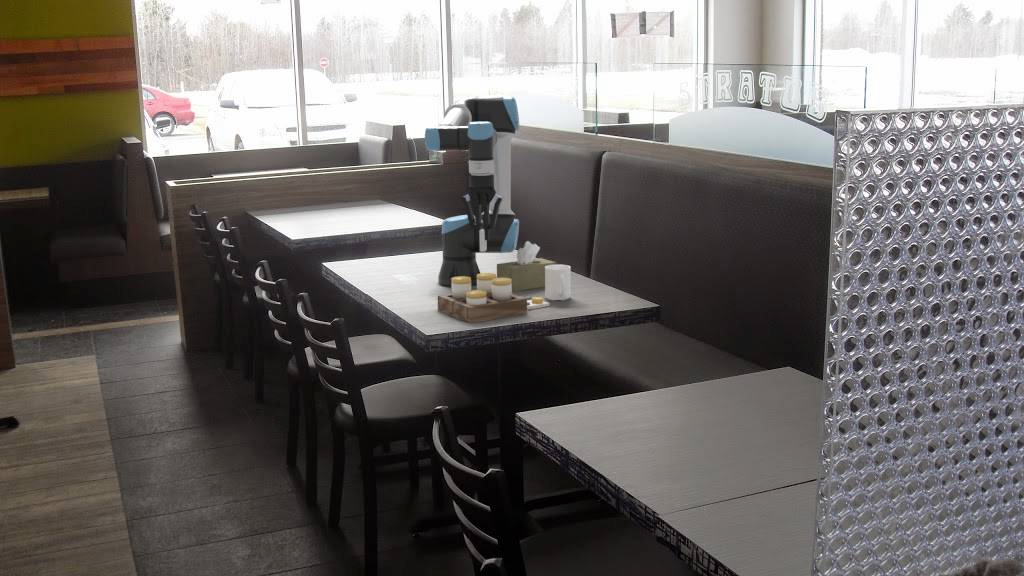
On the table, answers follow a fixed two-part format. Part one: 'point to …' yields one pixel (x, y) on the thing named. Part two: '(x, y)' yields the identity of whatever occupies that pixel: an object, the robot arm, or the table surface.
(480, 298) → the button
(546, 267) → the mug
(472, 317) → the board
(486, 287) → the button
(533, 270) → the tissue box
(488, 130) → the robot arm
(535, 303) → the card
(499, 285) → the button
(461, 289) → the button
